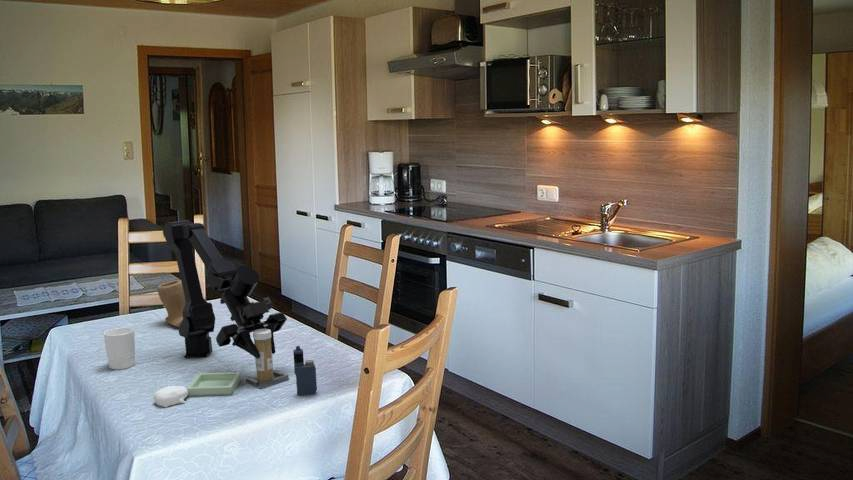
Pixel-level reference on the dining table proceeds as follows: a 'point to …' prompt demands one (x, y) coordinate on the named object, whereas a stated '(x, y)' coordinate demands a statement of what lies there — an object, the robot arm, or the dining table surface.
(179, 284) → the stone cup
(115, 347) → the white cup
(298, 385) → the vaping device
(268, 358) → the sprinkles bottle
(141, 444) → the dining table surface
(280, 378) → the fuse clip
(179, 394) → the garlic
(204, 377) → the tray
